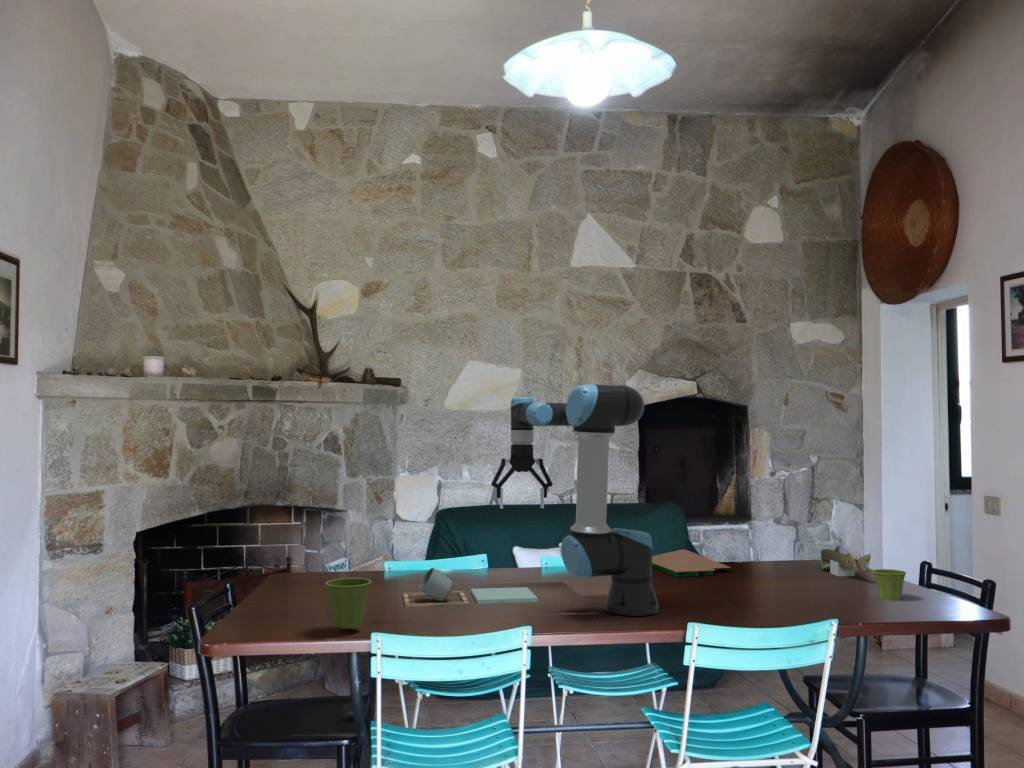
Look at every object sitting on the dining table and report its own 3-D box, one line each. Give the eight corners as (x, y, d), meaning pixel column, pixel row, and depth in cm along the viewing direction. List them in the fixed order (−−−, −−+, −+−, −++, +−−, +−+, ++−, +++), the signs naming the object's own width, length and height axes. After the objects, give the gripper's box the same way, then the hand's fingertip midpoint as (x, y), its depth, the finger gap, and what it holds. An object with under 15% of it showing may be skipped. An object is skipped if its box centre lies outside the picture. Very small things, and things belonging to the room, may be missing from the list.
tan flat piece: (695, 564, 339) (695, 543, 340) (737, 578, 307) (736, 555, 308) (639, 566, 334) (639, 545, 334) (676, 581, 302) (676, 557, 302)
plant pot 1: (330, 619, 237) (331, 577, 237) (374, 620, 236) (375, 578, 237) (319, 629, 225) (320, 585, 225) (365, 630, 225) (366, 585, 225)
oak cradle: (469, 605, 257) (469, 602, 257) (405, 607, 254) (405, 604, 254) (462, 593, 275) (462, 591, 275) (403, 595, 272) (403, 592, 272)
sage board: (537, 602, 262) (537, 598, 262) (477, 603, 259) (477, 599, 259) (527, 591, 280) (527, 587, 280) (470, 592, 277) (470, 588, 277)
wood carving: (856, 588, 286) (856, 554, 287) (811, 571, 321) (811, 540, 322) (883, 588, 287) (882, 554, 288) (835, 571, 322) (835, 540, 322)
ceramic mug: (440, 607, 261) (455, 588, 259) (417, 594, 259) (431, 575, 258) (442, 588, 271) (456, 570, 269) (419, 575, 269) (433, 557, 268)
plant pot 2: (874, 601, 265) (873, 572, 265) (872, 596, 274) (872, 568, 274) (908, 604, 262) (907, 574, 262) (905, 598, 271) (905, 570, 271)
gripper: (557, 443, 297) (557, 506, 296) (483, 443, 294) (483, 507, 293) (561, 444, 290) (561, 508, 289) (485, 443, 287) (485, 509, 286)
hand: (521, 508), depth 291 cm, fingers open, 13 cm apart
